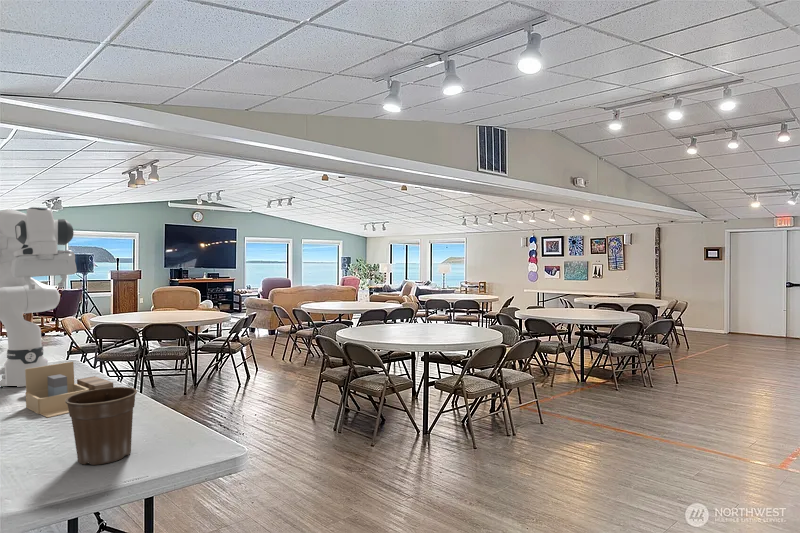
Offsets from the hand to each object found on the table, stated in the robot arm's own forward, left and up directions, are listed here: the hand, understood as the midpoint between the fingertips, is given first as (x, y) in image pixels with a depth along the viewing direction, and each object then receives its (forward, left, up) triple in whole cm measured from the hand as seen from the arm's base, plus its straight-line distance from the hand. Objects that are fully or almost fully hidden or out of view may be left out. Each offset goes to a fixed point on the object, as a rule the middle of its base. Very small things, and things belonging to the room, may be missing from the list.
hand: (46, 288), depth 203 cm
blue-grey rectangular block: (+17, -4, -39) cm, 43 cm away
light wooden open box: (+20, -3, -39) cm, 44 cm away
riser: (+17, +8, -39) cm, 44 cm away
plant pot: (+79, -14, -39) cm, 89 cm away
